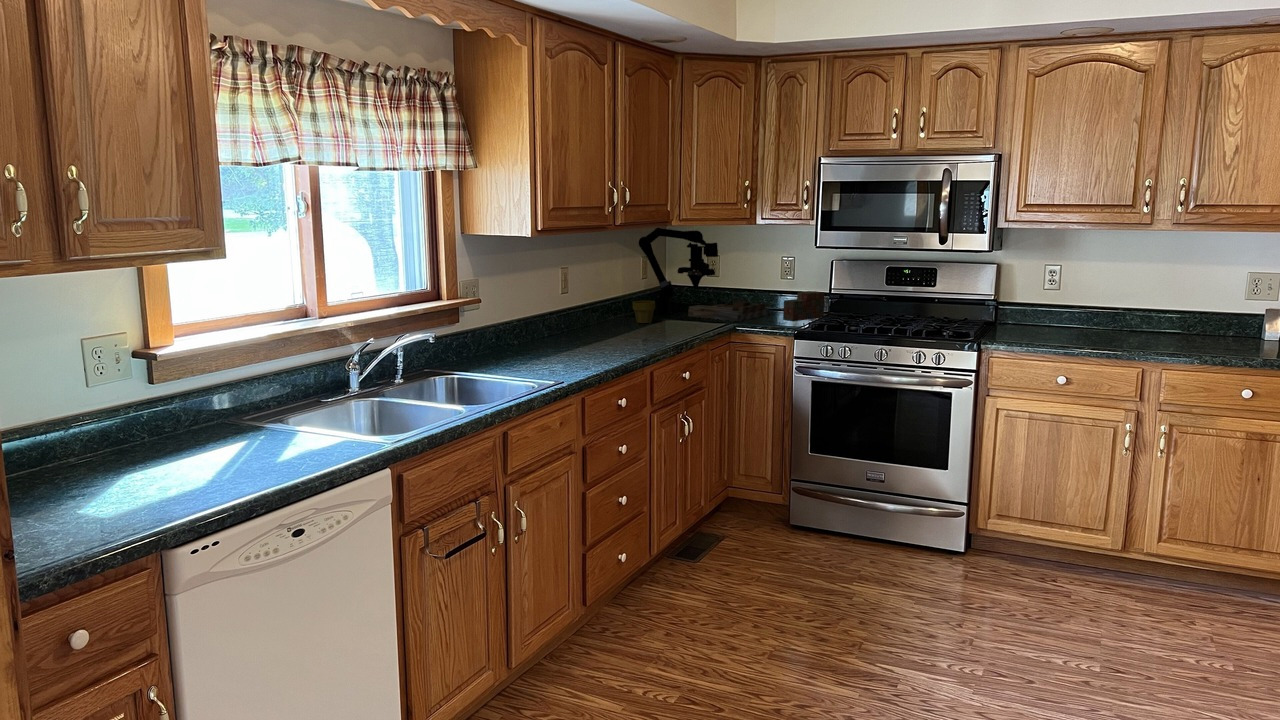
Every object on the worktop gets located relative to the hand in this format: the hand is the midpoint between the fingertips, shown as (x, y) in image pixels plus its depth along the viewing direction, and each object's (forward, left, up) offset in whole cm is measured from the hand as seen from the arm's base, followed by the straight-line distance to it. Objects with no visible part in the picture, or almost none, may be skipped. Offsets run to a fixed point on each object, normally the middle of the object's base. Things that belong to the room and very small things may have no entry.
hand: (695, 289), depth 444 cm
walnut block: (+4, -24, -9) cm, 26 cm away
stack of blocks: (+18, -49, -12) cm, 54 cm away
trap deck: (+4, -13, -12) cm, 18 cm away
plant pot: (-40, 0, -12) cm, 42 cm away
